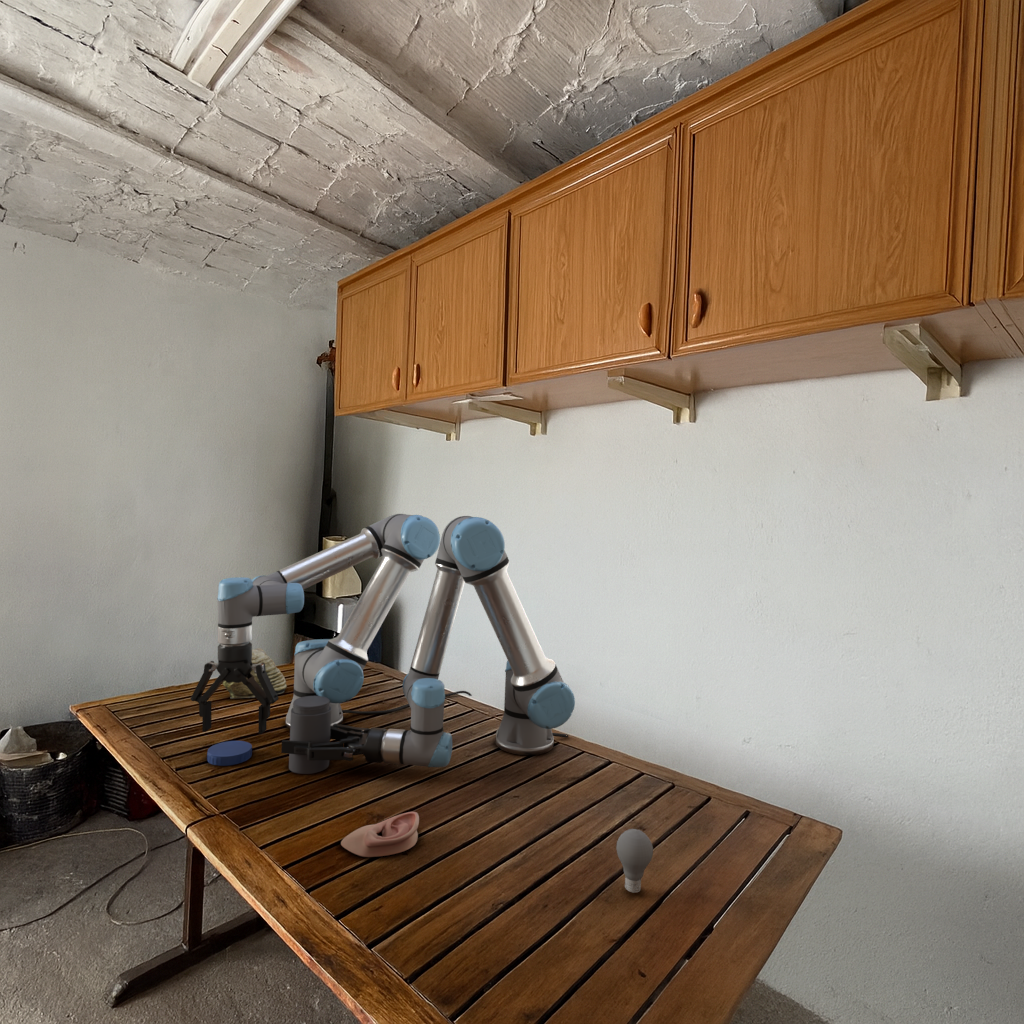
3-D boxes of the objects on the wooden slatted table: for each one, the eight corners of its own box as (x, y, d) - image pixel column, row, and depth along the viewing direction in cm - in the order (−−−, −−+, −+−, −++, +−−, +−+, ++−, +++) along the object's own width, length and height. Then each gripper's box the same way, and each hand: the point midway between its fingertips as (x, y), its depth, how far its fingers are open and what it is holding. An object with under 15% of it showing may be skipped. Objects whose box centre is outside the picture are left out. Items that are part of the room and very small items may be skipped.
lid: (209, 751, 154) (209, 742, 154) (252, 747, 158) (252, 738, 158) (205, 767, 145) (205, 758, 145) (251, 763, 149) (251, 754, 149)
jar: (295, 757, 153) (297, 694, 153) (332, 758, 153) (335, 695, 153) (283, 773, 144) (286, 706, 144) (324, 774, 144) (326, 707, 144)
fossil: (218, 695, 195) (220, 647, 195) (278, 685, 208) (279, 640, 207) (228, 703, 189) (230, 653, 188) (289, 692, 201) (290, 645, 201)
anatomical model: (333, 830, 113) (361, 800, 124) (332, 852, 113) (360, 820, 124) (403, 841, 110) (425, 810, 122) (402, 863, 110) (424, 830, 122)
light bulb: (610, 879, 108) (613, 822, 108) (644, 879, 109) (647, 822, 109) (619, 902, 102) (622, 840, 102) (655, 901, 103) (658, 840, 103)
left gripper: (175, 645, 148) (174, 734, 149) (279, 648, 147) (279, 738, 148) (192, 637, 155) (192, 723, 156) (292, 640, 154) (291, 726, 155)
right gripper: (370, 782, 136) (269, 774, 138) (396, 743, 158) (309, 737, 160) (371, 747, 136) (270, 740, 138) (398, 714, 158) (310, 707, 160)
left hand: (234, 730), depth 152 cm, fingers open, 13 cm apart
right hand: (291, 738), depth 149 cm, fingers closed on jar, 9 cm apart
